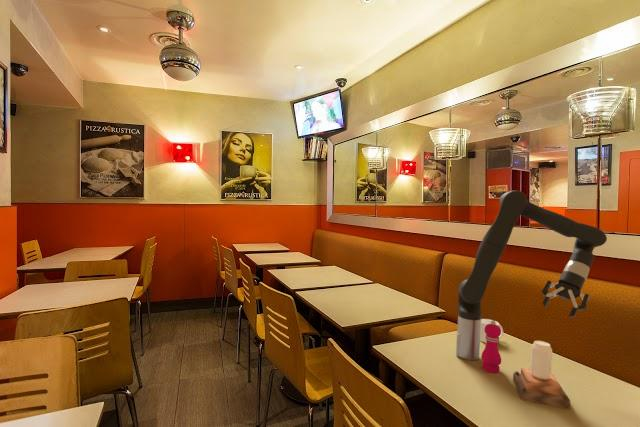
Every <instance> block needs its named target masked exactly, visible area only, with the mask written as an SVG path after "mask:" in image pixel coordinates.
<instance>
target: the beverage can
mask: <svg viewBox="0 0 640 427" xmlns="http://www.w3.org/2000/svg"><path fill="white" fill-rule="evenodd" d="M530 351H531V352H530V367H529V368H530V373H531V374H532V375H533V376H534V377H536V378H538V379H542V380H547V379H549V378H550V377H551V373H552V365H553V364H552V362H553V349H552V346H551V344H550V343H548V342H546V341H543V340H534V341H533V343H532V344H531V347H530Z"/></svg>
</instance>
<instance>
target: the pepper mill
mask: <svg viewBox="0 0 640 427" xmlns="http://www.w3.org/2000/svg"><path fill="white" fill-rule="evenodd" d="M491 320H492V321H491V324H487V325H486V326H485V333H486V334H487V335H486V340H487V343H485V347H484V349H483V351H482V353H481V356H480V358H481V361H482V364H481V368H482V369H483V370H484V372H487V373H490V374H491V373H492V374H498V373H499V372H500V366H499V365H501V364H502V357H501V354H500V352H499V347H498V343H499V342H500V338H499V336H500V335H501V329H500V327H499V326H497V325H495V324H496V322H497V321H496V320H493V319H491ZM495 321H496V322H495Z"/></svg>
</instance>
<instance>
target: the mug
mask: <svg viewBox="0 0 640 427" xmlns="http://www.w3.org/2000/svg"><path fill="white" fill-rule="evenodd" d="M492 320H493V319H489V318H481V331H480V343H483V342H484V344H487V340H486V335H487V334H486V333H485V326H486V325H487V324H491V321H492ZM494 321H495V322H496V324H495V325H497V326H499V327H500V329H501V335H500V336H499V339H500V338H502V337H503V336H504V329H503V326H502V325H501V324H500V323H499V322H498V321H496V320H494Z"/></svg>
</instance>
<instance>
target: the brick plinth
mask: <svg viewBox="0 0 640 427" xmlns="http://www.w3.org/2000/svg"><path fill="white" fill-rule="evenodd" d="M512 381H513V383H514V385H515V388H516V391H517V394H518V395H519V396H518V397H519V398H520V400H523V401H527V402H533V403H537V404H540V405H541V404H542V405H547V406H552V407H556V408H561V409H566V410H570V408H571V407H570V404H571V400H570V398H569V396H568V395H567V393H566V392H565V390H564V389H563V388H562V386H561V385H560V383H559V381H558V379H557V378H556V377H555V375H554V373H552V372H551V377H550V378H549V379H547V380H542V379H538V378H536V377H534V376H533V375H532V374H531V373H530V369H528V368H524V367H521V368H520V372H519V371H517V370H516V371H514V372H513V376H512Z"/></svg>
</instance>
